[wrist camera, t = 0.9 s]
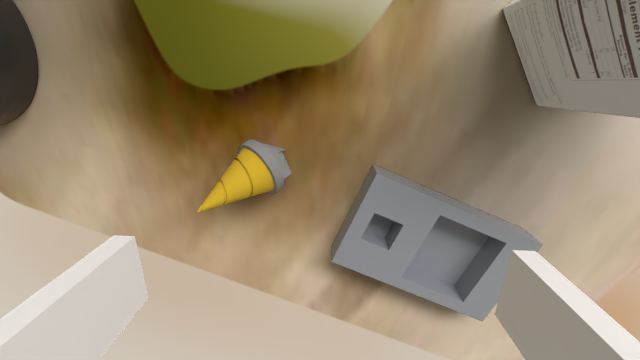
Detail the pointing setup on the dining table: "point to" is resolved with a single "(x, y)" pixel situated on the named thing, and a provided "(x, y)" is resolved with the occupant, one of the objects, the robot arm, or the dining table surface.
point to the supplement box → (580, 53)
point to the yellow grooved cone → (250, 175)
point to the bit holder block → (428, 244)
